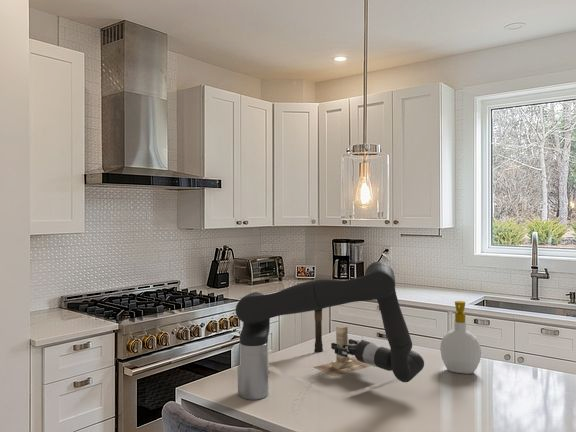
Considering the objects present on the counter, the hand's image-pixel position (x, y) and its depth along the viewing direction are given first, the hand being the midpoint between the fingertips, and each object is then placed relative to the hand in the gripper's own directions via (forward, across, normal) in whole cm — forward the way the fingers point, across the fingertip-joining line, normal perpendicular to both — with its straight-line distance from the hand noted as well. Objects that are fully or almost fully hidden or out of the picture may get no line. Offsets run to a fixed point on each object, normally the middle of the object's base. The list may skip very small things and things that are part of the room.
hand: (340, 343), depth 180 cm
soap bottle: (-28, -34, +10) cm, 45 cm away
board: (-1, -7, +10) cm, 12 cm away
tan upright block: (-1, 0, +8) cm, 9 cm away
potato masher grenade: (+20, -6, +10) cm, 23 cm away
